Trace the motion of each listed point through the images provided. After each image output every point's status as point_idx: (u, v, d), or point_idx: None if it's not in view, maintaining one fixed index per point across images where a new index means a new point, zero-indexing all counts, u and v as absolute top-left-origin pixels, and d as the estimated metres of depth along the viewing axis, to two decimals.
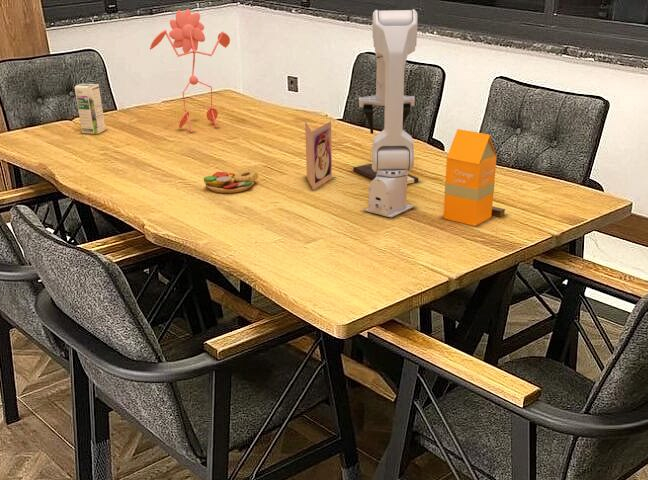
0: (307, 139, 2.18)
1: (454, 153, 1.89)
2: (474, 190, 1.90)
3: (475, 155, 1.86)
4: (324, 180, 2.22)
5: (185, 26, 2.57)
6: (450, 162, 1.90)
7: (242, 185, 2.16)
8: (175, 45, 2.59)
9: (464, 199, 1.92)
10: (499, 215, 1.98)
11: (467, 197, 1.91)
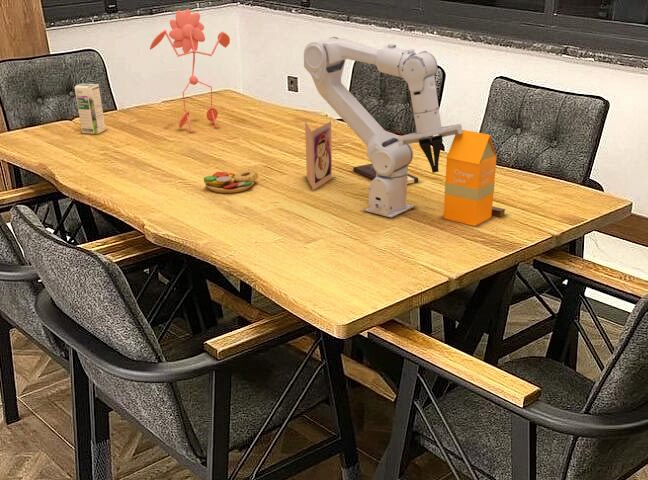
0: (307, 139, 2.18)
1: (454, 153, 1.89)
2: (474, 190, 1.89)
3: (475, 155, 1.86)
4: (324, 180, 2.22)
5: (185, 26, 2.57)
6: (450, 162, 1.90)
7: (242, 185, 2.16)
8: (175, 45, 2.59)
9: (464, 199, 1.92)
10: (499, 215, 1.98)
11: (467, 197, 1.91)
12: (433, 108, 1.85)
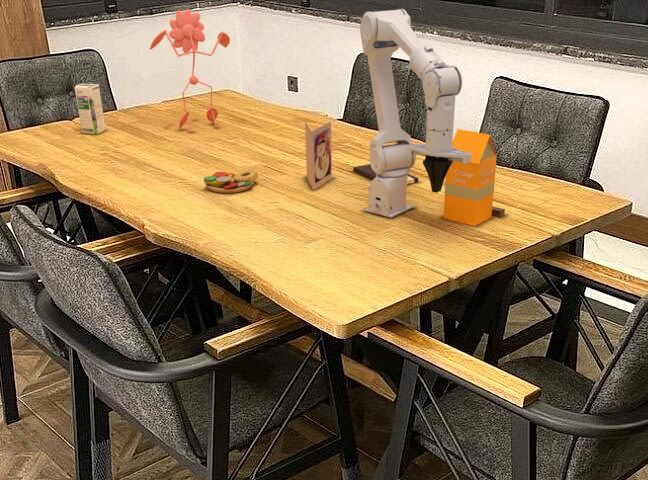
0: (307, 139, 2.18)
1: None
2: (473, 190, 1.89)
3: (475, 155, 1.86)
4: (324, 180, 2.22)
5: (185, 26, 2.57)
6: None
7: (242, 185, 2.16)
8: (175, 45, 2.59)
9: (464, 199, 1.92)
10: (499, 215, 1.98)
11: (467, 197, 1.91)
12: (442, 129, 1.74)
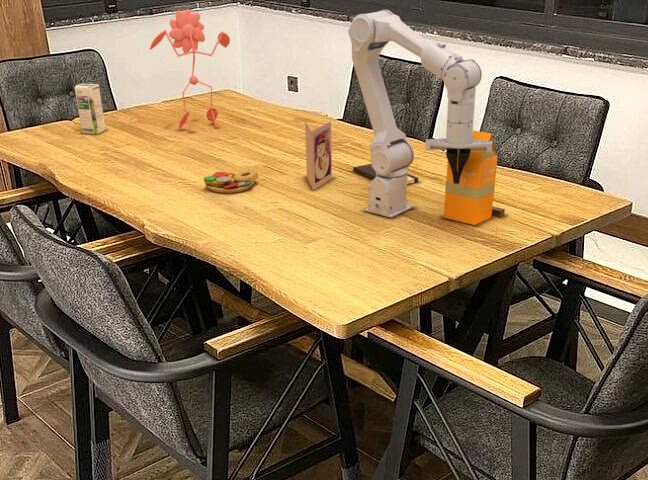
0: (307, 139, 2.18)
1: None
2: (474, 189, 1.90)
3: (476, 154, 1.87)
4: (324, 180, 2.22)
5: (185, 26, 2.57)
6: None
7: (242, 185, 2.16)
8: (175, 45, 2.59)
9: (465, 198, 1.92)
10: (499, 215, 1.98)
11: (468, 196, 1.91)
12: (467, 121, 1.79)
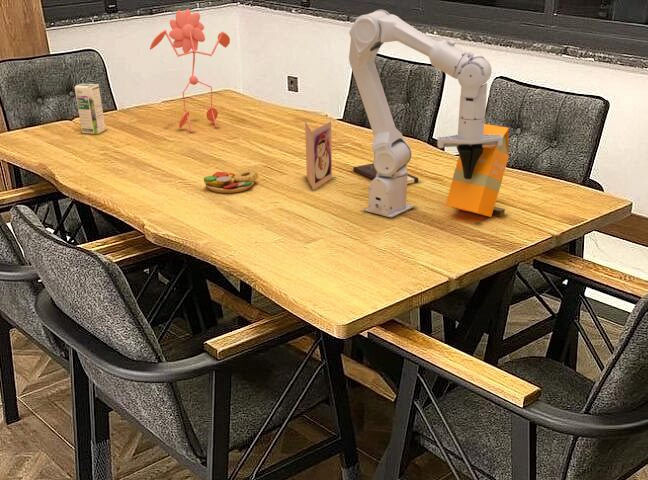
0: (307, 139, 2.18)
1: None
2: (483, 176, 1.91)
3: None
4: (324, 180, 2.22)
5: (185, 26, 2.57)
6: None
7: (242, 185, 2.16)
8: (175, 45, 2.59)
9: (472, 185, 1.93)
10: (499, 215, 1.98)
11: (475, 183, 1.92)
12: (481, 117, 1.83)
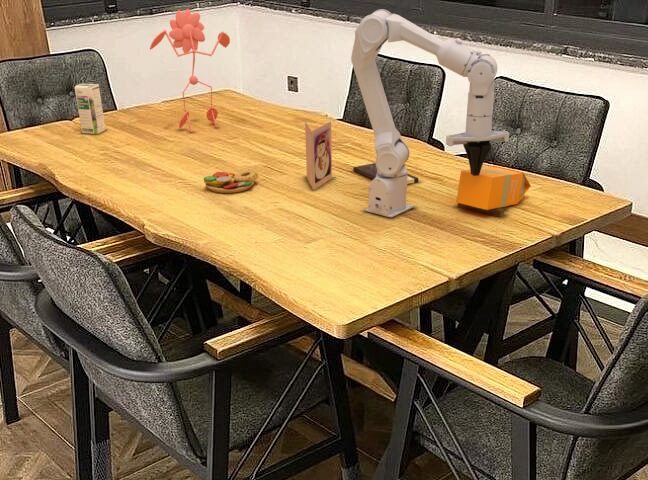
0: (307, 139, 2.18)
1: None
2: (506, 173, 1.99)
3: None
4: (324, 180, 2.22)
5: (185, 26, 2.57)
6: (494, 167, 2.06)
7: (242, 185, 2.16)
8: (175, 45, 2.59)
9: (493, 173, 1.98)
10: (499, 215, 1.98)
11: (497, 173, 1.98)
12: (490, 114, 1.85)
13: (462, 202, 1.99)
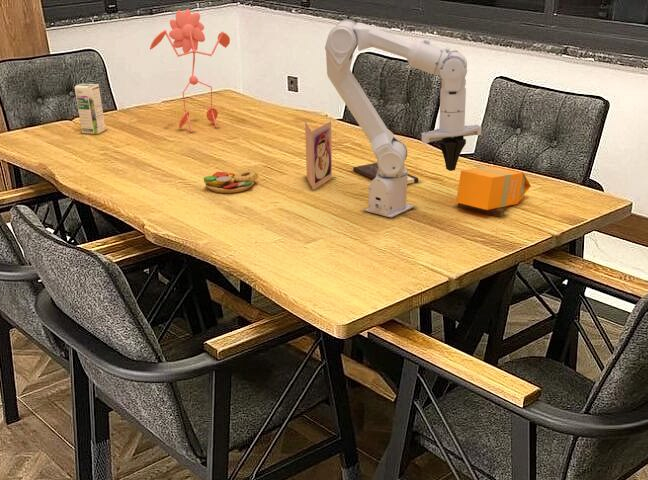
0: (307, 139, 2.18)
1: None
2: (506, 173, 1.99)
3: None
4: (324, 180, 2.22)
5: (185, 26, 2.57)
6: (494, 167, 2.06)
7: (242, 185, 2.16)
8: (175, 45, 2.59)
9: (493, 173, 1.98)
10: (499, 215, 1.98)
11: (497, 173, 1.98)
12: (463, 109, 1.88)
13: (462, 202, 1.99)
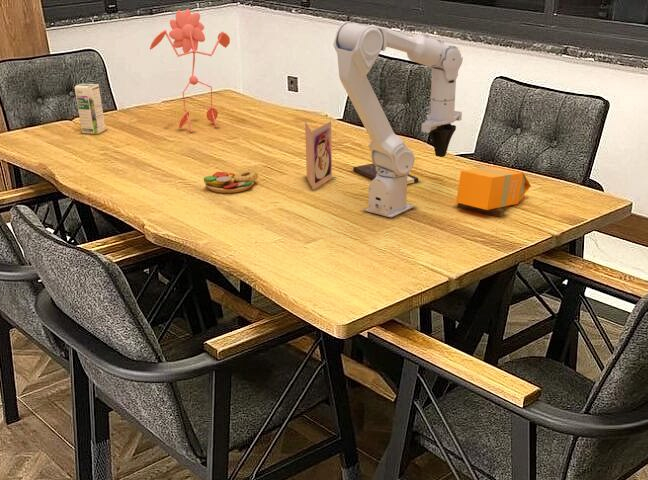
0: (307, 139, 2.18)
1: None
2: (506, 173, 1.99)
3: None
4: (324, 180, 2.22)
5: (185, 26, 2.57)
6: (494, 167, 2.06)
7: (242, 185, 2.16)
8: (175, 45, 2.59)
9: (493, 173, 1.98)
10: (499, 215, 1.98)
11: (497, 173, 1.98)
12: None
13: (462, 202, 1.99)
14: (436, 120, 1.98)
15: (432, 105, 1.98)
